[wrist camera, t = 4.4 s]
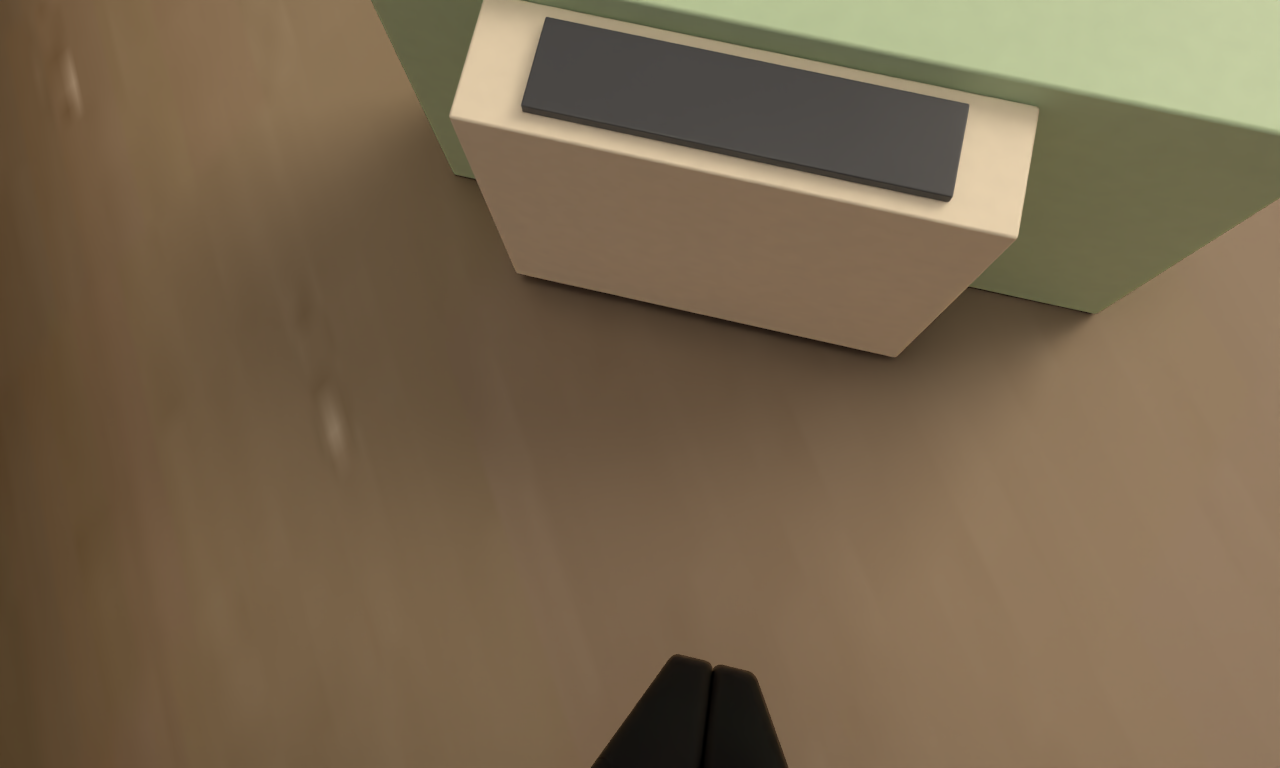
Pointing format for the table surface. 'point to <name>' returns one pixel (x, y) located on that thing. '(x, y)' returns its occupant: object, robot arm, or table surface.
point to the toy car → (852, 146)
